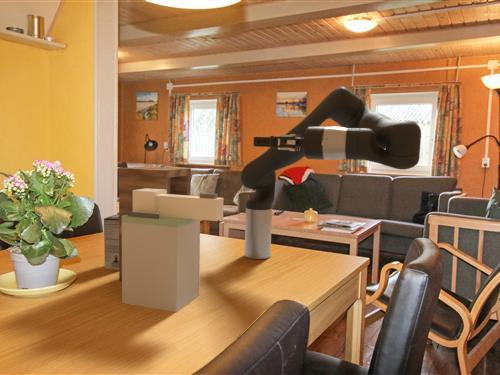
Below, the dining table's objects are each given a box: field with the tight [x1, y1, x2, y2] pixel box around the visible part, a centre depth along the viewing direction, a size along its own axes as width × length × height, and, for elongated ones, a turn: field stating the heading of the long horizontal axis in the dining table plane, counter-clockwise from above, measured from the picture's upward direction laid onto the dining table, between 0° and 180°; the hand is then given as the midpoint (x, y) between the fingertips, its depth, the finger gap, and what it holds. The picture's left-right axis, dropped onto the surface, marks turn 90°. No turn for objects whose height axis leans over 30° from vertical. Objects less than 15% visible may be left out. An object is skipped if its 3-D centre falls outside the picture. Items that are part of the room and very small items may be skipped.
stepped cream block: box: [133, 188, 225, 222], centre depth 105 cm, size 6×22×6 cm, turn 71°
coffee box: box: [103, 213, 119, 271], centre depth 137 cm, size 9×6×16 cm
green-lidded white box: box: [121, 212, 201, 313], centre depth 108 cm, size 12×15×22 cm
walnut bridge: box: [118, 166, 192, 282], centre depth 125 cm, size 14×15×32 cm
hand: (259, 142), depth 104 cm, fingers open, 8 cm apart
